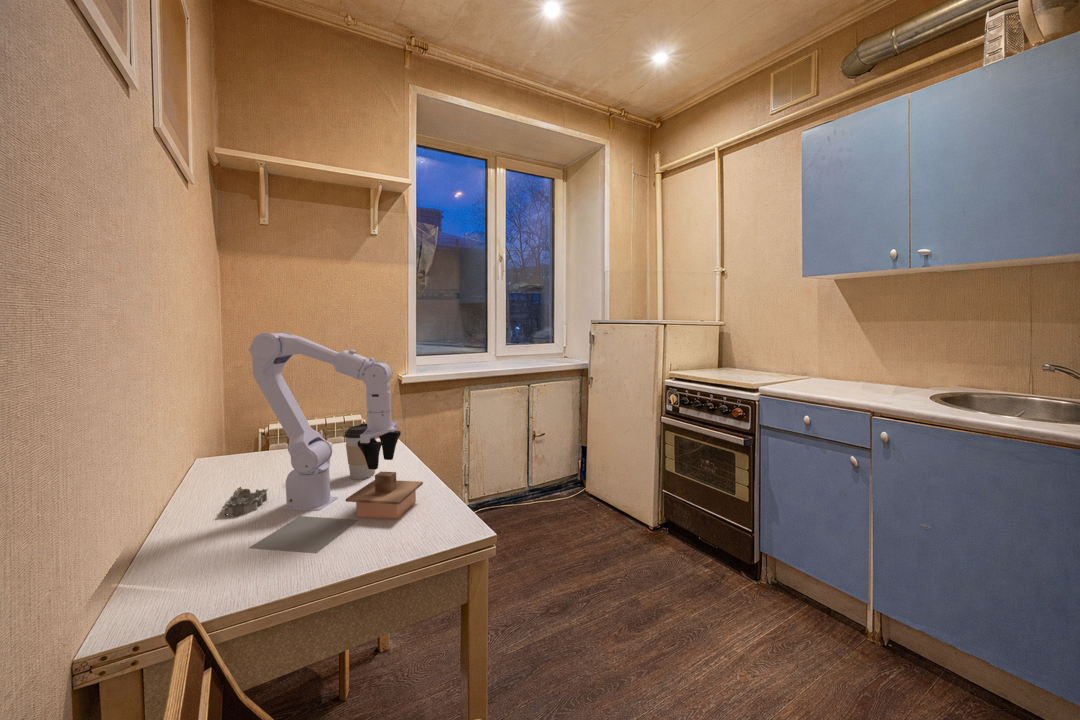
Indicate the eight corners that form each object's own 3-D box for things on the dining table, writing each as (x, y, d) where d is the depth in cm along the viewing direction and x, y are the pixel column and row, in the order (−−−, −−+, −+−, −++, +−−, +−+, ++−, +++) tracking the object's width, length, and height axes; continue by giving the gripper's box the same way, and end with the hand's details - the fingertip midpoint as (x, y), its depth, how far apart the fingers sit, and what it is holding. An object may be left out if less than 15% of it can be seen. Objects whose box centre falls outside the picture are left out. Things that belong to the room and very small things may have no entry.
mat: (248, 549, 89) (248, 547, 89) (299, 517, 104) (299, 516, 104) (316, 554, 86) (316, 552, 86) (359, 521, 101) (359, 519, 101)
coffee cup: (371, 480, 128) (369, 429, 127) (340, 480, 128) (338, 429, 127) (383, 470, 137) (381, 422, 136) (354, 470, 137) (352, 422, 136)
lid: (345, 501, 101) (344, 481, 101) (375, 481, 114) (374, 464, 114) (399, 504, 99) (398, 484, 99) (422, 484, 112) (422, 466, 112)
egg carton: (240, 501, 115) (239, 485, 114) (272, 498, 116) (271, 483, 116) (219, 518, 104) (217, 501, 104) (254, 515, 106) (253, 498, 105)
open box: (356, 518, 103) (356, 499, 103) (378, 501, 113) (378, 484, 112) (397, 520, 101) (396, 501, 101) (415, 503, 111) (415, 485, 111)
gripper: (378, 417, 103) (381, 474, 104) (407, 405, 117) (409, 456, 118) (351, 416, 104) (353, 472, 105) (382, 405, 118) (384, 455, 119)
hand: (381, 464), depth 112 cm, fingers open, 7 cm apart
